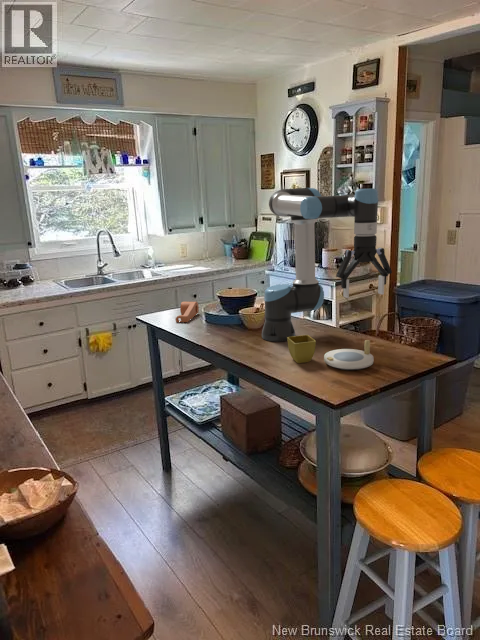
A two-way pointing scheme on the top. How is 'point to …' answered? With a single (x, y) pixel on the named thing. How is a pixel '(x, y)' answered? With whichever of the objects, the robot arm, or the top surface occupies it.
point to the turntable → (350, 358)
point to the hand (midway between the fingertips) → (363, 295)
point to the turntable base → (348, 369)
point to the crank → (187, 311)
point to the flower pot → (301, 348)
